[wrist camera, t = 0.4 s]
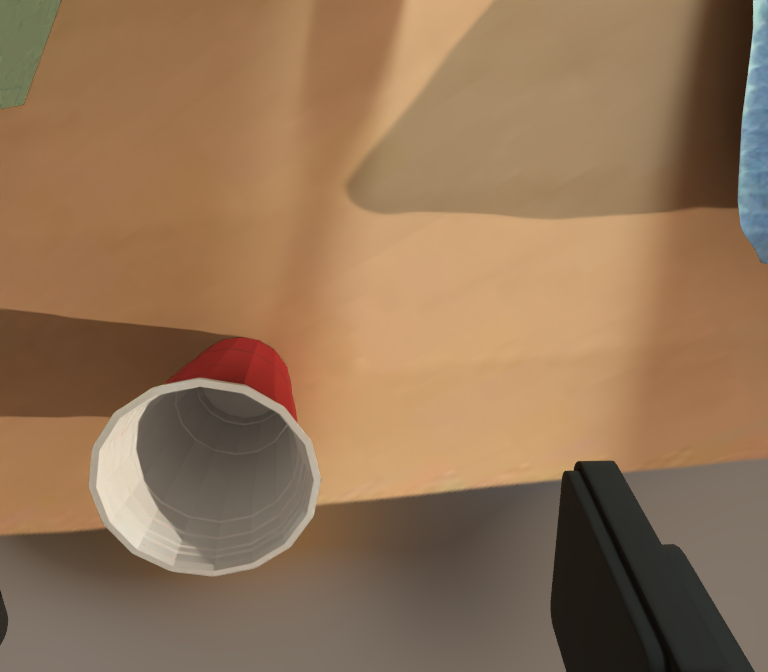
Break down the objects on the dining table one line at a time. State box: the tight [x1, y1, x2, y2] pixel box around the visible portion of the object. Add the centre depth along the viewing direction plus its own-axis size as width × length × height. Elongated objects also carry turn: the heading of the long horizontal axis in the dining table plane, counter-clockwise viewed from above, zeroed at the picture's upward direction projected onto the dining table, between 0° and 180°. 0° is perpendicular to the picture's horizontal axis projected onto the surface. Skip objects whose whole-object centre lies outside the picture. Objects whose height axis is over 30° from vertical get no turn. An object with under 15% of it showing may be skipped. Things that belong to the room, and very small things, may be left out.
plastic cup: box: [89, 337, 321, 576], centre depth 39 cm, size 11×11×12 cm
